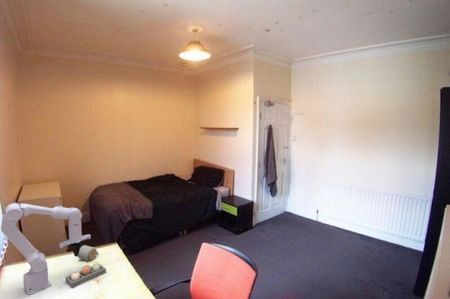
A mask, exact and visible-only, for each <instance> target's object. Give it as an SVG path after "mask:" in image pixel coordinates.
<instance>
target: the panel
mask: <svg viewBox="0 0 450 299" xmlns="http://www.w3.org/2000/svg"><path fill="white" fill-rule="evenodd" d="M78 272H79V274H80V278H79V279H76V280H74V281H72V280H71V275H72V274H70V275H68V276H66V277H65V283H66V284H67V285H68V286H69V287H70V288H71V289H73V288H75V287H78V286H80V285H82V284H84V283H87V282H90V281H91V280H93V279H95V278H98V277H100V276H103V275H105V274H107V269H106V267H104V266H103V265H102V264H100V270H97V271H95V272H93V265H92V266H90V274H88V275H86V276H83V275H82V270H80V271H78Z"/></svg>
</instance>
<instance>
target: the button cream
mask: <svg viewBox="0 0 450 299" xmlns="http://www.w3.org/2000/svg"><path fill="white" fill-rule="evenodd" d="M79 272H80V271H76V272H73V273H72V274H70V275H71V280H72V281H74V280H76V279H79V278H80V274H79Z"/></svg>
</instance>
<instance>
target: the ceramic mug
mask: <svg viewBox="0 0 450 299" xmlns="http://www.w3.org/2000/svg"><path fill="white" fill-rule="evenodd" d="M98 254H99V252H98V251H97V248H96V247H93V246H89V245H85V244H84V245H82V246H81V248H80V251H79V255H78V256H77V258H78V259H79V260H85V261H93V260H94V259H95V258H96V256H97V255H98Z"/></svg>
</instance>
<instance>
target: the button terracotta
mask: <svg viewBox="0 0 450 299" xmlns="http://www.w3.org/2000/svg"><path fill="white" fill-rule="evenodd" d="M90 267H91V266H90V265H87V264H85V265H84V266H82V268H81V271H82V275H83V276H86V275H88V274H90Z"/></svg>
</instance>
